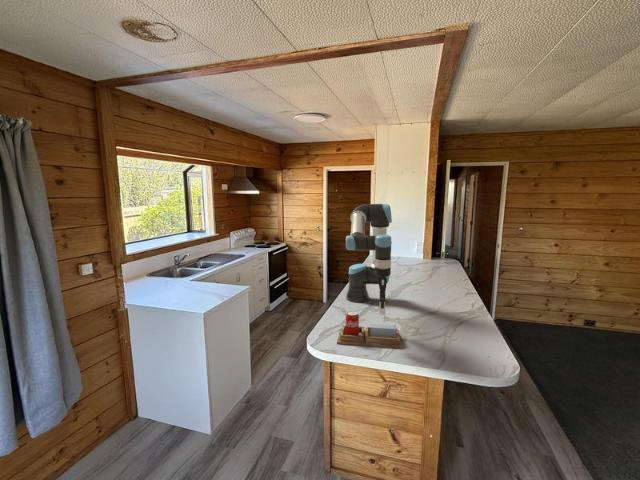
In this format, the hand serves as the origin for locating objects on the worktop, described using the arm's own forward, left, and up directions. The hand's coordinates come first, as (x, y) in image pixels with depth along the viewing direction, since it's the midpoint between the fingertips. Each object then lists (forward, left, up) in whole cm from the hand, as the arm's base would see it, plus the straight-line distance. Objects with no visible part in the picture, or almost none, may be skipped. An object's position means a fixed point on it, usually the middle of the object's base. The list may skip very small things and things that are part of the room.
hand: (381, 308), depth 156 cm
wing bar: (+4, +1, -14) cm, 14 cm away
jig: (+4, -6, -15) cm, 17 cm away
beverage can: (+4, -14, -14) cm, 20 cm away
